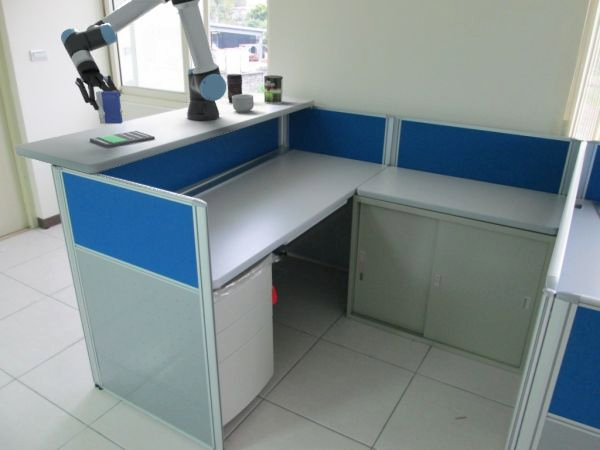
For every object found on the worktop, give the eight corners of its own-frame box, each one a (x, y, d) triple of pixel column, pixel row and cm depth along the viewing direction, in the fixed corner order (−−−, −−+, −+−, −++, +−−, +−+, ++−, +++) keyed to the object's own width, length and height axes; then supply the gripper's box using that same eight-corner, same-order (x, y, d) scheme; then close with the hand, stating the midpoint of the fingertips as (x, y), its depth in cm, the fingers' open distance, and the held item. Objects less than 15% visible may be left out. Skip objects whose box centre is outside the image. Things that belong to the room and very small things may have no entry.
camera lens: (244, 101, 283) (244, 74, 277) (239, 104, 276) (238, 75, 270) (231, 100, 285) (230, 73, 279) (225, 103, 278) (224, 74, 272)
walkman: (122, 122, 195) (118, 90, 190) (121, 123, 192) (117, 91, 187) (101, 122, 194) (97, 90, 189) (99, 123, 192) (95, 91, 187)
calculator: (136, 133, 210) (136, 130, 209) (154, 139, 201) (154, 136, 200) (89, 141, 196) (89, 137, 196) (107, 147, 187) (106, 144, 187)
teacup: (252, 113, 252) (252, 97, 249) (230, 113, 252) (230, 97, 249) (255, 108, 264) (255, 93, 261) (234, 108, 265) (234, 92, 261)
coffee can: (275, 104, 276) (275, 78, 270) (260, 102, 281) (260, 76, 275) (286, 102, 284) (286, 76, 279) (271, 100, 289) (271, 74, 283)
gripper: (107, 70, 203) (132, 117, 199) (58, 74, 190) (85, 124, 186) (111, 57, 197) (138, 106, 194) (62, 60, 184) (89, 112, 181)
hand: (112, 114), depth 190 cm, fingers closed on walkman, 6 cm apart
